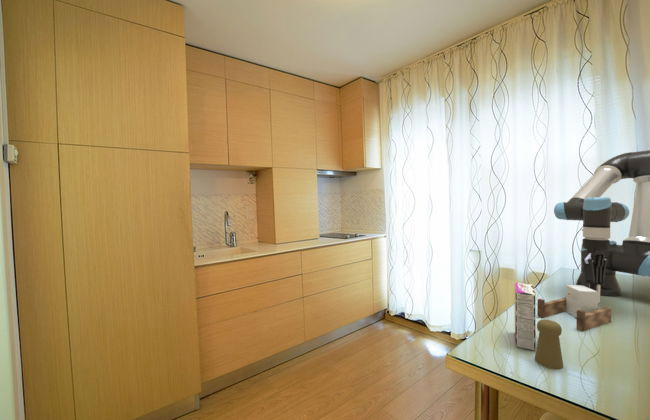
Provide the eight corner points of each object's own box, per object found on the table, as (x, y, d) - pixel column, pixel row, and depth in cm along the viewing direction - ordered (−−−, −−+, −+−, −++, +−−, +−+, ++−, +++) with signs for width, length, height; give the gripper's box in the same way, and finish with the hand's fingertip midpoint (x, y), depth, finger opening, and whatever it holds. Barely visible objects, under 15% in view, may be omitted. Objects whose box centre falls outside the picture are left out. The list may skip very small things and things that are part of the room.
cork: (529, 357, 80) (529, 317, 79) (549, 355, 80) (550, 316, 80) (547, 370, 74) (548, 327, 73) (569, 368, 74) (570, 325, 74)
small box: (598, 321, 102) (598, 291, 101) (579, 320, 103) (580, 291, 103) (582, 313, 110) (583, 285, 109) (565, 312, 111) (566, 284, 110)
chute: (566, 308, 114) (566, 292, 114) (611, 321, 102) (611, 303, 102) (537, 316, 107) (537, 299, 107) (582, 331, 94) (582, 311, 94)
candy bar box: (514, 332, 95) (514, 282, 94) (533, 336, 92) (533, 284, 92) (514, 347, 85) (515, 291, 85) (536, 351, 83) (536, 294, 82)
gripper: (593, 236, 115) (591, 296, 116) (573, 238, 110) (572, 300, 110) (618, 238, 108) (616, 302, 109) (599, 240, 103) (597, 307, 104)
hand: (594, 301), depth 110 cm, fingers closed
